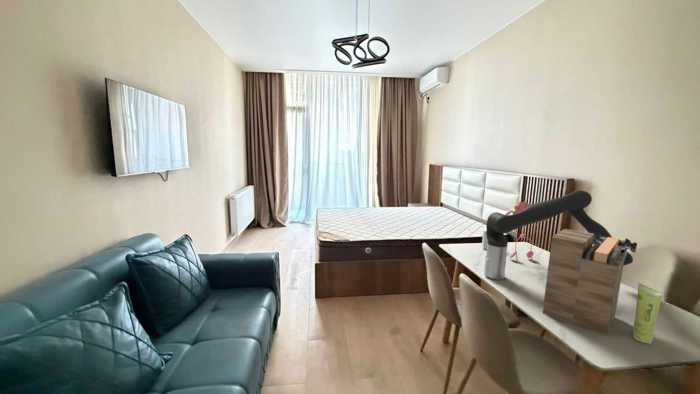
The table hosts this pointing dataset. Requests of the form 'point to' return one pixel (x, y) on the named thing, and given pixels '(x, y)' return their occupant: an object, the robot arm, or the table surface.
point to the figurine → (519, 209)
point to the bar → (606, 250)
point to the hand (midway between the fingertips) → (612, 238)
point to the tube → (646, 313)
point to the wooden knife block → (582, 282)
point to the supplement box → (484, 239)
